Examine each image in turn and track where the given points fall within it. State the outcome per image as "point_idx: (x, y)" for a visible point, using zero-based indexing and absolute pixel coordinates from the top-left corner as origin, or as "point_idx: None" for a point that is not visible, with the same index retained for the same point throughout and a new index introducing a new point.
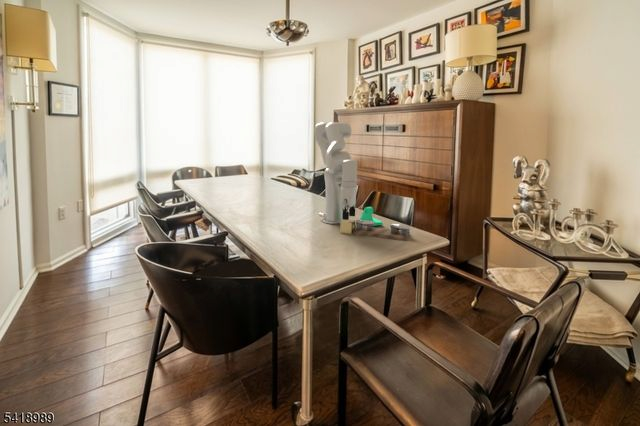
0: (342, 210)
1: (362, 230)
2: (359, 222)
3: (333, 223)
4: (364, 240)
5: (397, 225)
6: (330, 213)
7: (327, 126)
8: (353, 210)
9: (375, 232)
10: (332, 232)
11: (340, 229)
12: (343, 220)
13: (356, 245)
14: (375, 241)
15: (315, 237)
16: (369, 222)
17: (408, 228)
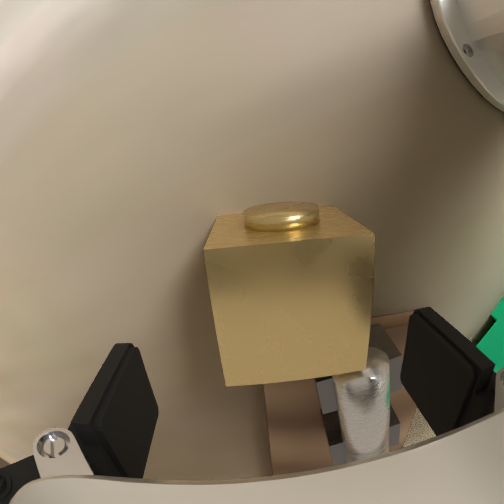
0: (36, 448)
1: (307, 388)
2: (340, 403)
3: (447, 44)
4: (155, 426)
5: None
6: None
7: None
8: (440, 419)
9: (297, 454)
10: (186, 144)
11: (214, 225)
12: (294, 254)
13: (57, 408)
14: (181, 463)
15: (5, 121)
16: (350, 460)
17: None
